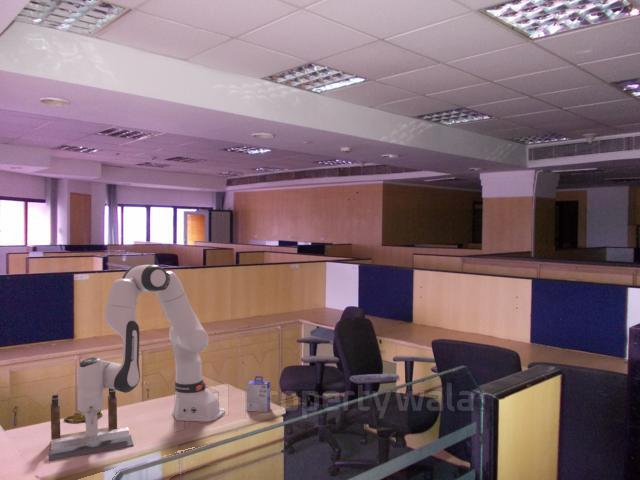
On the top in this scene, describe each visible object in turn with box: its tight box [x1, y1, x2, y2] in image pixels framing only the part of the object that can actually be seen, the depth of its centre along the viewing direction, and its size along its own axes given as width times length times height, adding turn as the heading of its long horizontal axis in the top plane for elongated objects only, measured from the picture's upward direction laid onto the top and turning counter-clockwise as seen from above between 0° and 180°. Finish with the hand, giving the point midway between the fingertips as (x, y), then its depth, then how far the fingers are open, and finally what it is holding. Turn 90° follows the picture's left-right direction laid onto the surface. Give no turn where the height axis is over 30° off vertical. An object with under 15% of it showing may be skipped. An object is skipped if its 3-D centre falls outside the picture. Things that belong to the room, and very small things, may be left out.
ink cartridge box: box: [245, 375, 271, 413], centre depth 229 cm, size 10×6×14 cm, turn 81°
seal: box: [63, 408, 104, 424], centre depth 220 cm, size 9×5×15 cm
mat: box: [48, 434, 134, 462], centre depth 191 cm, size 28×10×1 cm, turn 116°
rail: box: [50, 426, 130, 450], centre depth 191 cm, size 26×3×2 cm, turn 116°
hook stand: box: [50, 388, 118, 441], centre depth 200 cm, size 23×6×18 cm, turn 116°
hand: (91, 440), depth 191 cm, fingers closed on rail, 3 cm apart
